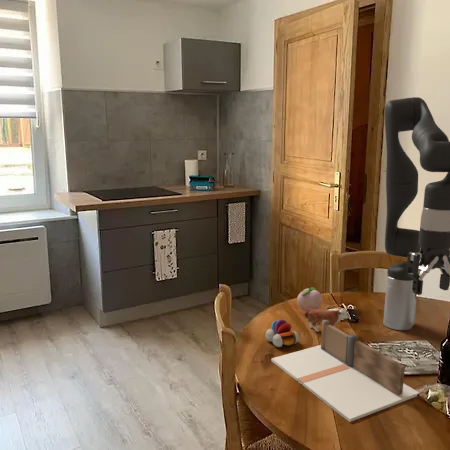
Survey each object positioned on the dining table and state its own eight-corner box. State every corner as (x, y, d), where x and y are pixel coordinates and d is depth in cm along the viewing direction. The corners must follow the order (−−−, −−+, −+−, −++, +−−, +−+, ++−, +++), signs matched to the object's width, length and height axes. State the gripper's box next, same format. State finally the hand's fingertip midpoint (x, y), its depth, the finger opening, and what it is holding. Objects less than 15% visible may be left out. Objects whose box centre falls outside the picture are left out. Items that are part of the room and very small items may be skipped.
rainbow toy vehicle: (279, 351, 142) (279, 329, 140) (261, 338, 150) (262, 317, 149) (302, 345, 146) (303, 323, 144) (284, 333, 154) (284, 312, 153)
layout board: (333, 343, 147) (335, 315, 145) (418, 395, 119) (422, 360, 117) (271, 361, 136) (272, 330, 134) (349, 422, 109) (352, 384, 107)
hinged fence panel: (353, 366, 131) (354, 341, 129) (356, 365, 131) (358, 340, 130) (398, 395, 117) (401, 367, 116) (402, 394, 118) (404, 366, 116)
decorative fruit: (315, 320, 164) (316, 292, 162) (293, 315, 168) (294, 288, 166) (325, 311, 172) (326, 285, 170) (303, 306, 176) (305, 280, 174)
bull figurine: (347, 335, 153) (349, 311, 151) (305, 331, 155) (306, 308, 154) (347, 329, 157) (348, 306, 155) (306, 325, 160) (307, 303, 158)
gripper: (446, 221, 119) (440, 283, 122) (402, 225, 113) (396, 290, 117) (472, 227, 112) (464, 293, 115) (426, 232, 107) (419, 300, 110)
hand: (430, 291), depth 116 cm, fingers open, 8 cm apart
